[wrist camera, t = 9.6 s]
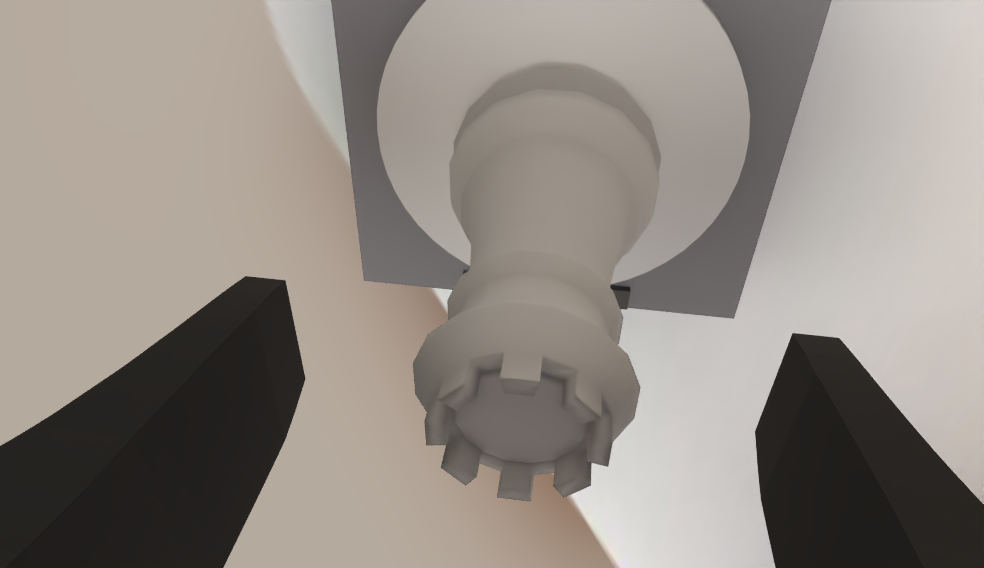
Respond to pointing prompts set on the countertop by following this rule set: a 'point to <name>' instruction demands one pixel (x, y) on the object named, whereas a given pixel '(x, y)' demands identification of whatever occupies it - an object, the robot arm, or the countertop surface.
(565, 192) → the rook chess piece
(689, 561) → the countertop surface
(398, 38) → the kitchen scale
